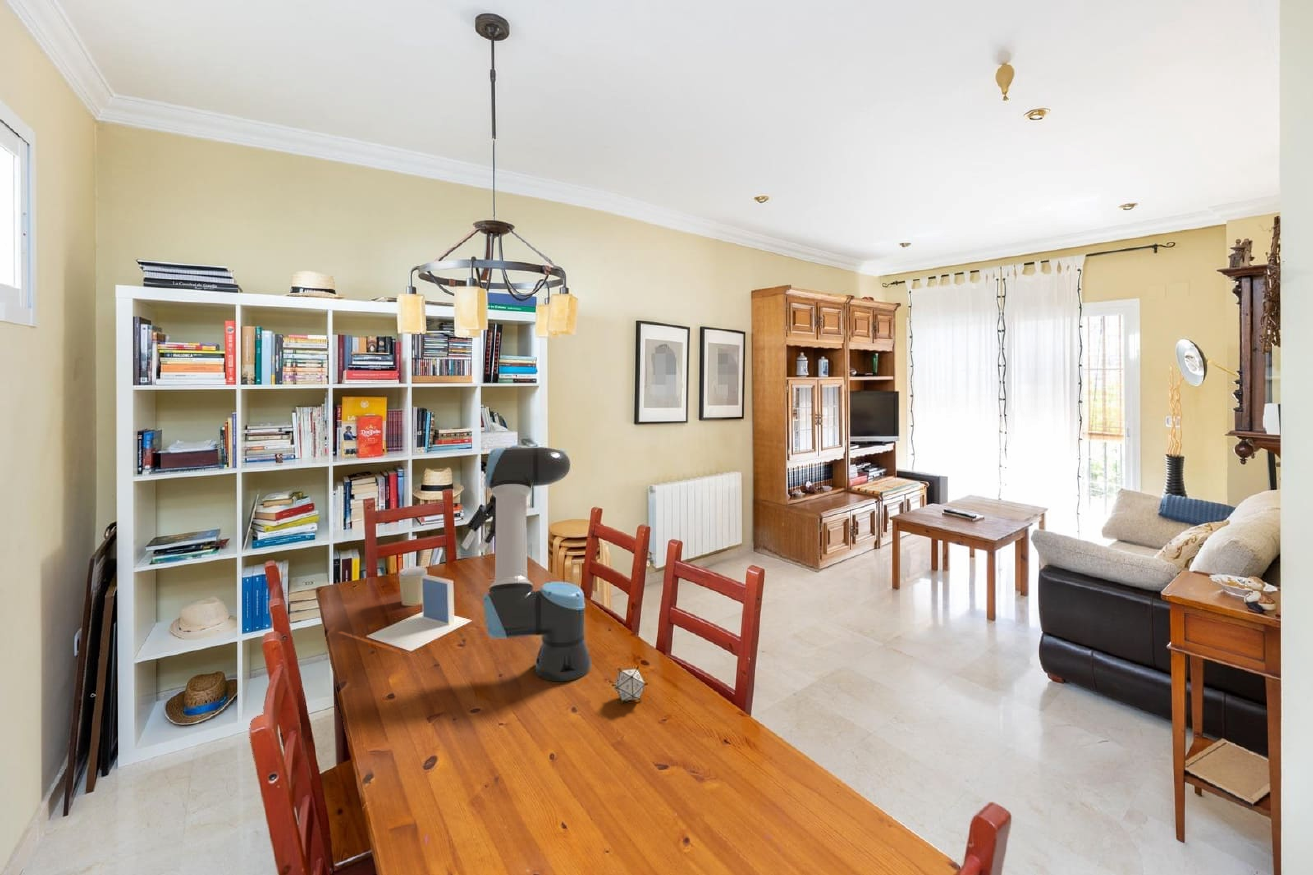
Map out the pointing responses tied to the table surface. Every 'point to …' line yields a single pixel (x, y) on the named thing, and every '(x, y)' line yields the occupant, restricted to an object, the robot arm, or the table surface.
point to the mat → (416, 631)
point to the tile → (438, 599)
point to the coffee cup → (411, 585)
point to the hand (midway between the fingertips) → (472, 548)
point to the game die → (629, 684)
